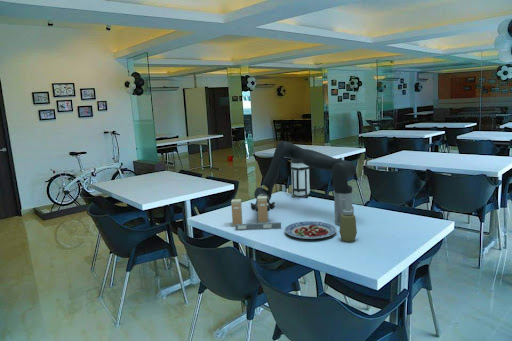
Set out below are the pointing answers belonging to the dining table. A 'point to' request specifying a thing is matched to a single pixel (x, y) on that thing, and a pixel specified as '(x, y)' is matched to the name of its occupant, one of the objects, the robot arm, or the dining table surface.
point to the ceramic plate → (310, 229)
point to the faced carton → (236, 211)
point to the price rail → (258, 226)
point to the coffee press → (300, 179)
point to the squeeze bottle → (348, 225)
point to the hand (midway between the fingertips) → (262, 209)
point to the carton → (262, 209)
